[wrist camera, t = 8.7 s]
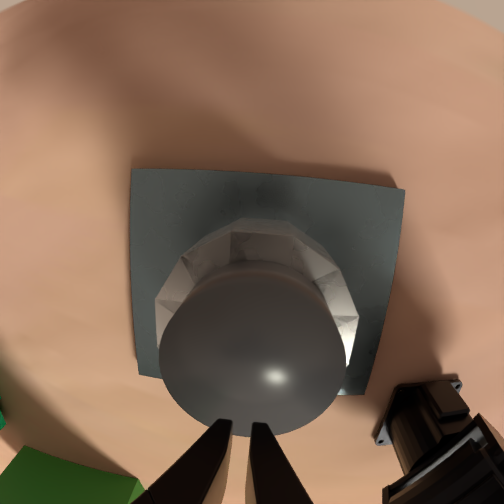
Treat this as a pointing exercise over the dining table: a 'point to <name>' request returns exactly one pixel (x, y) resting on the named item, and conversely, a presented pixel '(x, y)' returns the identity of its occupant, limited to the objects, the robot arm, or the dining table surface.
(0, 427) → the camera mount
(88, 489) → the hardback book
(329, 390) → the dark grey rounded lump
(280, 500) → the robot arm
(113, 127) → the dining table surface
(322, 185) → the square base plate
